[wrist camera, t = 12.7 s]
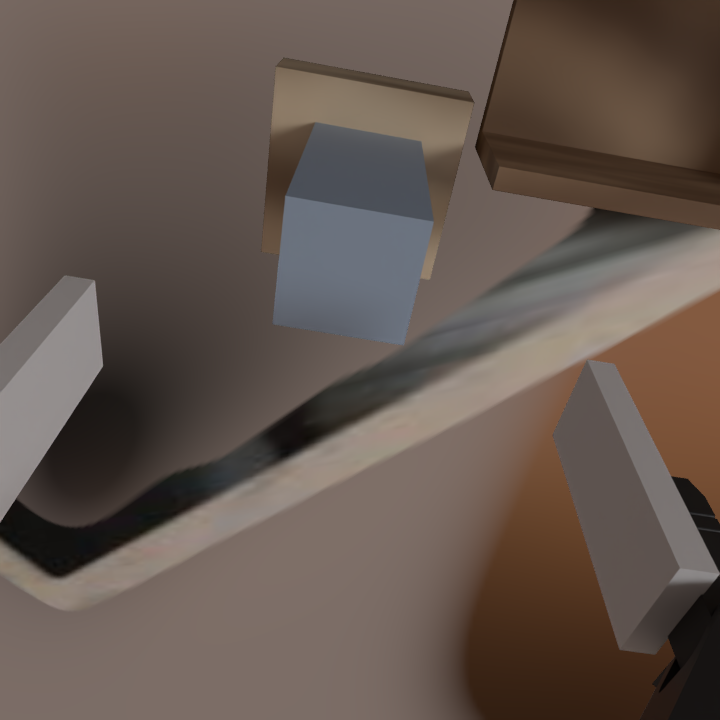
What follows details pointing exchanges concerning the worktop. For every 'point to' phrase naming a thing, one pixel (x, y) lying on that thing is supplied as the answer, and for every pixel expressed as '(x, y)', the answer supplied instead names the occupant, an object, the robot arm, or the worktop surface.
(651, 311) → the worktop surface
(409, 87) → the stand
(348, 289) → the block
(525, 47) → the open wooden box
